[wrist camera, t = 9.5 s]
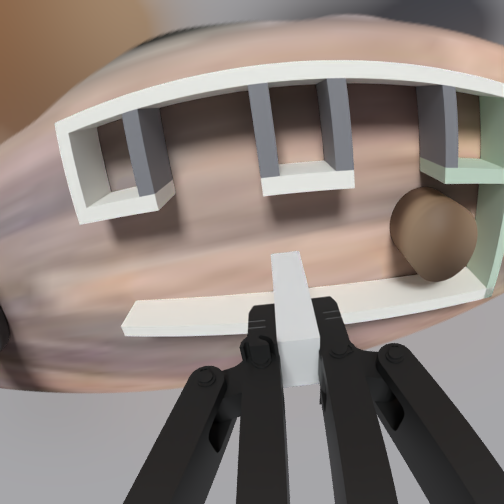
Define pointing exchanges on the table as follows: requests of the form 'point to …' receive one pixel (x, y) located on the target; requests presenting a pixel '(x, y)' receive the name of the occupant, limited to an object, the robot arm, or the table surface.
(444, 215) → the brown rounded cylinder
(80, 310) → the table surface
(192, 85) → the box
